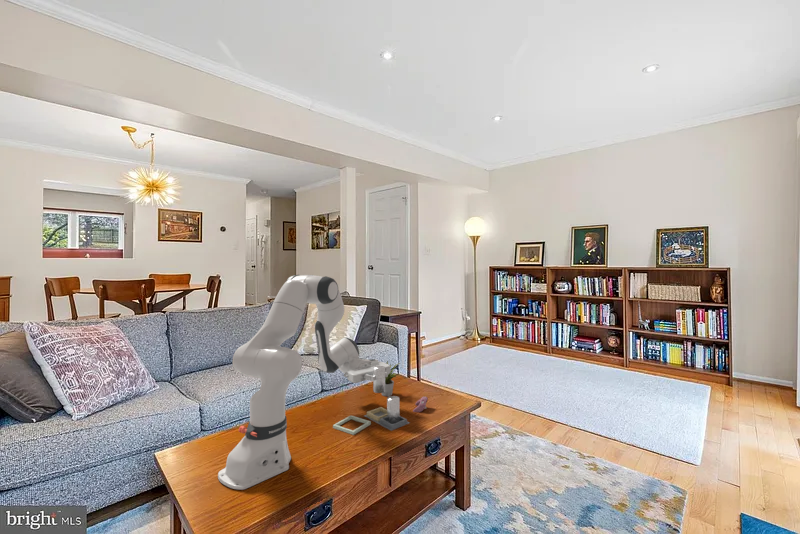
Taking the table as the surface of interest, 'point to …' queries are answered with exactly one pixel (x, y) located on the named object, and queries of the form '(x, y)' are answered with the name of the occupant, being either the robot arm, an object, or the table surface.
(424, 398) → the video game controller
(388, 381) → the house plant
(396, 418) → the cylinder
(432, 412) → the table surface
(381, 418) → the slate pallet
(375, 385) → the steel billet
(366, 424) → the tray
